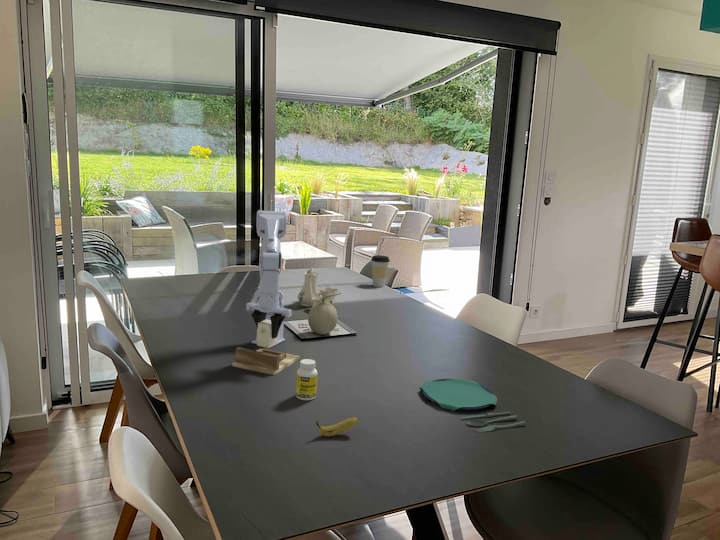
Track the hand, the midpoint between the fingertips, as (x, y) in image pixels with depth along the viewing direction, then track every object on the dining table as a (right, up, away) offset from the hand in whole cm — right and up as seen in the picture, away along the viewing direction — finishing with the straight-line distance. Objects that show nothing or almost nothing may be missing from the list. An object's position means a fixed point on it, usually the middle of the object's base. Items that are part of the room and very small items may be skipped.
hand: (267, 336), depth 177 cm
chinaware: (+9, +5, +76) cm, 76 cm away
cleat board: (0, -8, +2) cm, 8 cm away
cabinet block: (0, -3, 0) cm, 3 cm away
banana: (+22, -18, -42) cm, 51 cm away
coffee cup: (+37, +12, +122) cm, 128 cm away
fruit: (+14, -3, +34) cm, 37 cm away
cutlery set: (+56, -17, -20) cm, 62 cm away
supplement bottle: (+14, -14, -22) cm, 29 cm away
